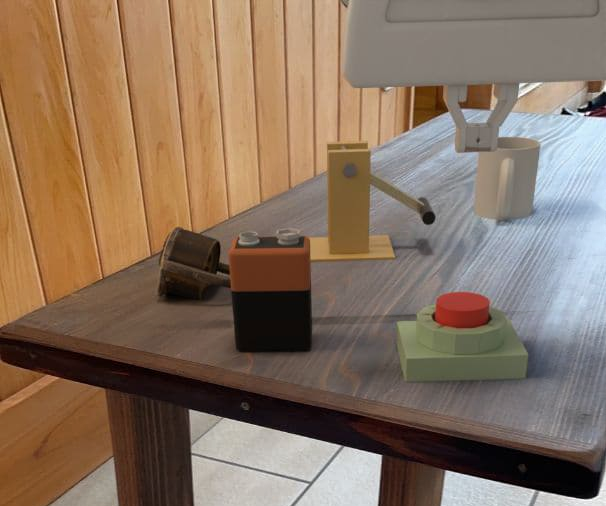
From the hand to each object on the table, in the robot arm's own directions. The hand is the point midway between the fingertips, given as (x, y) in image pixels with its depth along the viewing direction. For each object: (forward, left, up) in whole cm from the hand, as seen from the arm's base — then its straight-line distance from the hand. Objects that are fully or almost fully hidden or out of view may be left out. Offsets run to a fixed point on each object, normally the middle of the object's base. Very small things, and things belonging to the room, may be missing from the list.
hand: (475, 151), depth 64 cm
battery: (+16, -5, -17) cm, 24 cm away
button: (0, 0, -13) cm, 13 cm away
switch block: (0, 0, -17) cm, 17 cm away
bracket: (+8, -29, -17) cm, 34 cm away
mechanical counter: (+22, -16, -17) cm, 32 cm away
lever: (+5, -29, -10) cm, 31 cm away
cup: (-12, -41, -17) cm, 46 cm away
